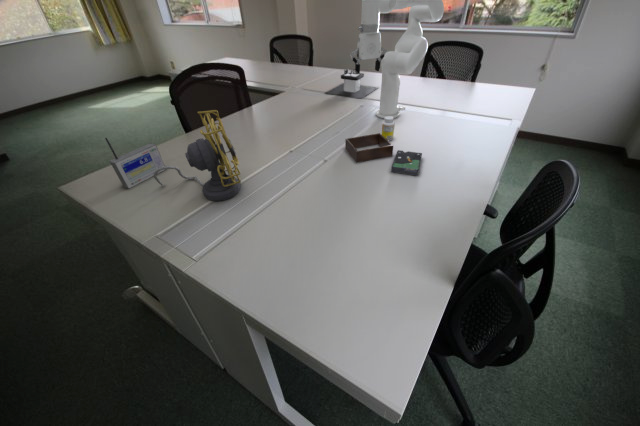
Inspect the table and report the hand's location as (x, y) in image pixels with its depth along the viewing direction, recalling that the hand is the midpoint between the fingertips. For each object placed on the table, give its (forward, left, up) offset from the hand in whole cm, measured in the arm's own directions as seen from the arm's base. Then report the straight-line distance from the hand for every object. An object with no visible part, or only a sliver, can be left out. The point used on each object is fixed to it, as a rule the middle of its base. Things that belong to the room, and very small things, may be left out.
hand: (367, 71), depth 137 cm
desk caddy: (+10, +28, -26) cm, 40 cm away
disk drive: (0, +44, -26) cm, 51 cm away
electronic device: (+105, +15, -26) cm, 109 cm away
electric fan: (+81, +37, -26) cm, 93 cm away
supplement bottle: (-4, +18, -26) cm, 32 cm away
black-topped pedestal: (-16, -61, -26) cm, 68 cm away
